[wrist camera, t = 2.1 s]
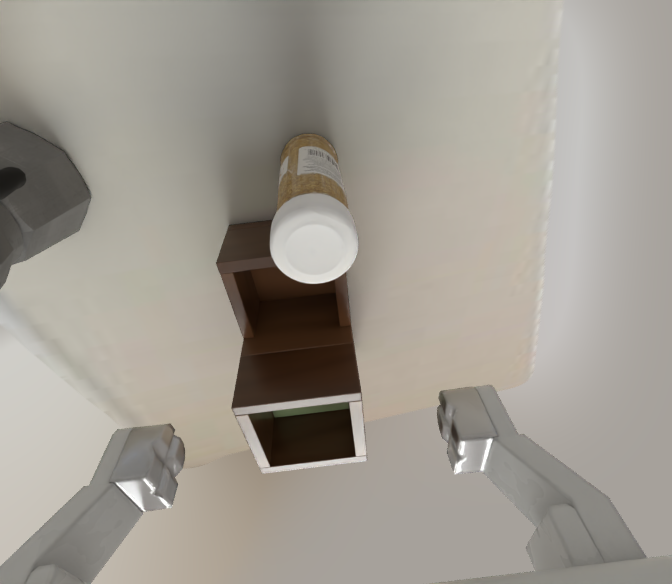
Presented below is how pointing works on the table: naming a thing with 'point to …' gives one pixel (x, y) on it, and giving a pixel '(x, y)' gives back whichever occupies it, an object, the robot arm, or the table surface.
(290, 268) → the sprinkles bottle
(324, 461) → the caddy
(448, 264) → the table surface
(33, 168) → the coffeepot
